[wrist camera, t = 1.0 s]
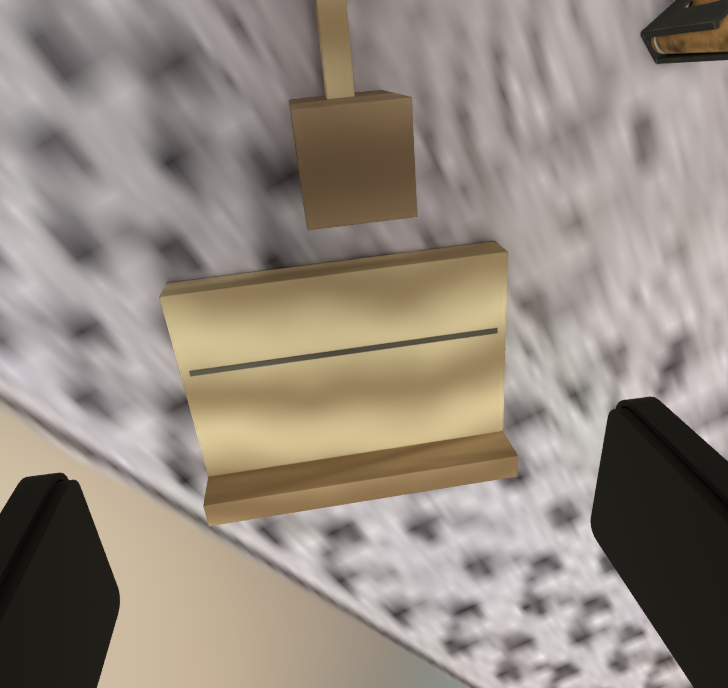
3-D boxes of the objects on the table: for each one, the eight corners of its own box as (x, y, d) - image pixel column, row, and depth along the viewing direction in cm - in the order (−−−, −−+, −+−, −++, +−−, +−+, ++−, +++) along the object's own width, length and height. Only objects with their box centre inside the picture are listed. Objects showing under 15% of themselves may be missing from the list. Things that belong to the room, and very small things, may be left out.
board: (166, 283, 30) (148, 316, 26) (495, 241, 31) (526, 266, 27) (217, 474, 36) (208, 526, 32) (491, 432, 37) (517, 476, 33)
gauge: (263, -81, 24) (258, -133, 18) (369, -89, 24) (400, -143, 18) (302, 194, 29) (307, 230, 23) (388, 184, 29) (417, 216, 23)
